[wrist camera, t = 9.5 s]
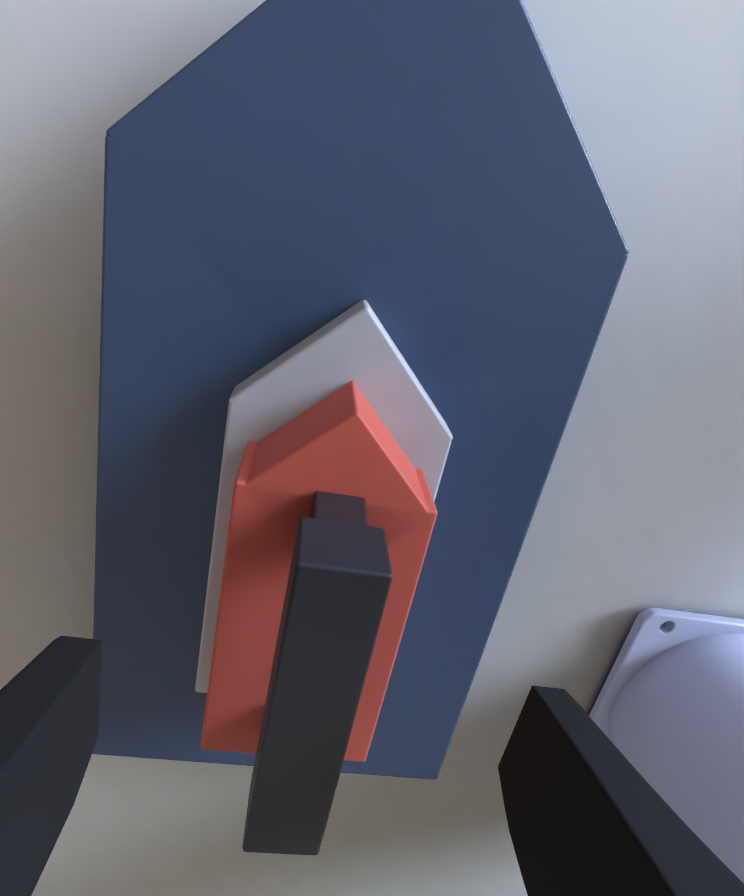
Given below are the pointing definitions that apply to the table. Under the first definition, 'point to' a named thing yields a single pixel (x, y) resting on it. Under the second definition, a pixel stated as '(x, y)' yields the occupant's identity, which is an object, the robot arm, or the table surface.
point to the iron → (315, 566)
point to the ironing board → (326, 297)
